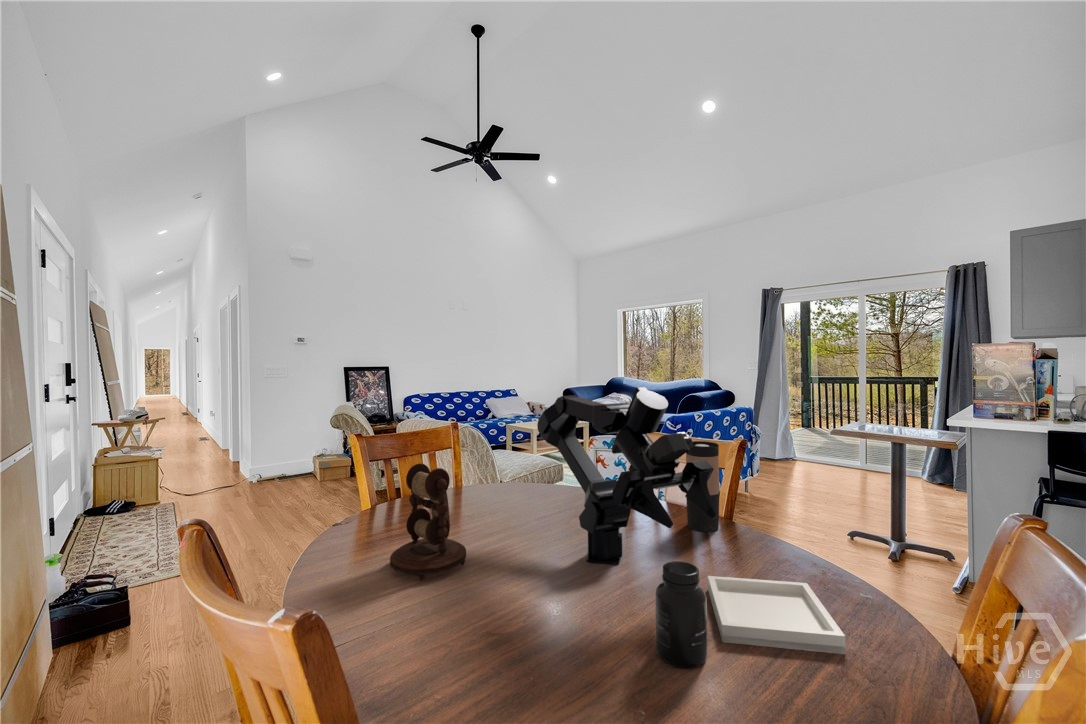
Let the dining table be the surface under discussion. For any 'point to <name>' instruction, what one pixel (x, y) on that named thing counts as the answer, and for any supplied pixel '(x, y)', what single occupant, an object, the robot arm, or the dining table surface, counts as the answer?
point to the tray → (773, 615)
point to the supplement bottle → (681, 616)
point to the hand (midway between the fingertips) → (693, 521)
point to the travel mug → (711, 455)
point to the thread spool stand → (428, 527)
